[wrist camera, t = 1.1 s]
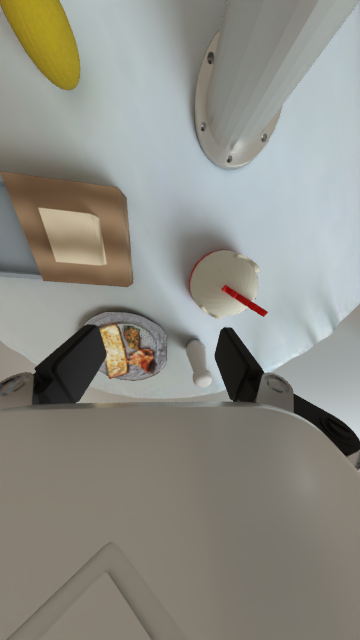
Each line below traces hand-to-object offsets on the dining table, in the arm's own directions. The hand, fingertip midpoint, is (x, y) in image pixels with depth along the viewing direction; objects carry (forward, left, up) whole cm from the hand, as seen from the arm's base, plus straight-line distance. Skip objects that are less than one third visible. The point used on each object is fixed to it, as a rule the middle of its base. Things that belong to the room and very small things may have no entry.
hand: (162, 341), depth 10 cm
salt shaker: (+18, +9, -23) cm, 30 cm away
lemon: (-26, -14, -23) cm, 37 cm away
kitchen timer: (-1, +12, -23) cm, 26 cm away
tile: (-7, -15, -19) cm, 25 cm away
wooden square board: (-7, -16, -23) cm, 29 cm away
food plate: (+20, -11, -23) cm, 33 cm away
